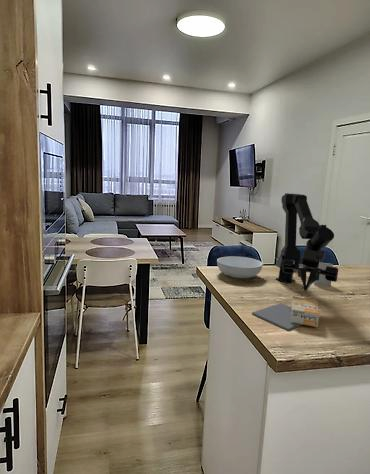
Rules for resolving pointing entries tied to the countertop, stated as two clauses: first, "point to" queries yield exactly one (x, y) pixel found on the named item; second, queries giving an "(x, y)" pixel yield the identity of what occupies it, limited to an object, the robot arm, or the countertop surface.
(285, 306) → the mat
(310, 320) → the supplement box
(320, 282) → the grey angular block
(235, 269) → the serving bowl
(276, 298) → the countertop surface
